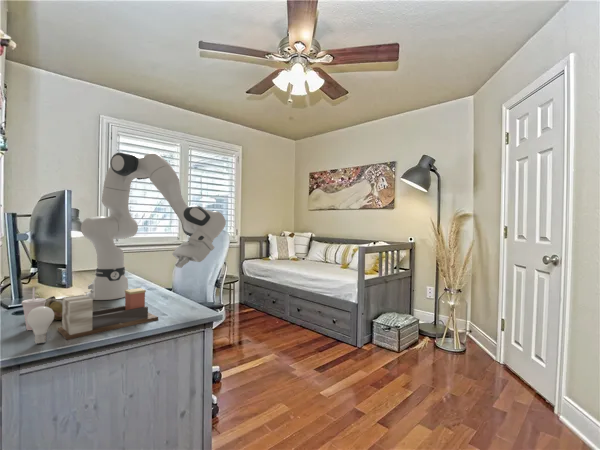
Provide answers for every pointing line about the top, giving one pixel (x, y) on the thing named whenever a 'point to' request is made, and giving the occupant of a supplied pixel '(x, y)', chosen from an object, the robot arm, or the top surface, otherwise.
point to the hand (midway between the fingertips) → (177, 266)
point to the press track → (97, 317)
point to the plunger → (134, 298)
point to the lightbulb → (40, 322)
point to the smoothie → (32, 306)
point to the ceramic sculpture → (55, 306)
